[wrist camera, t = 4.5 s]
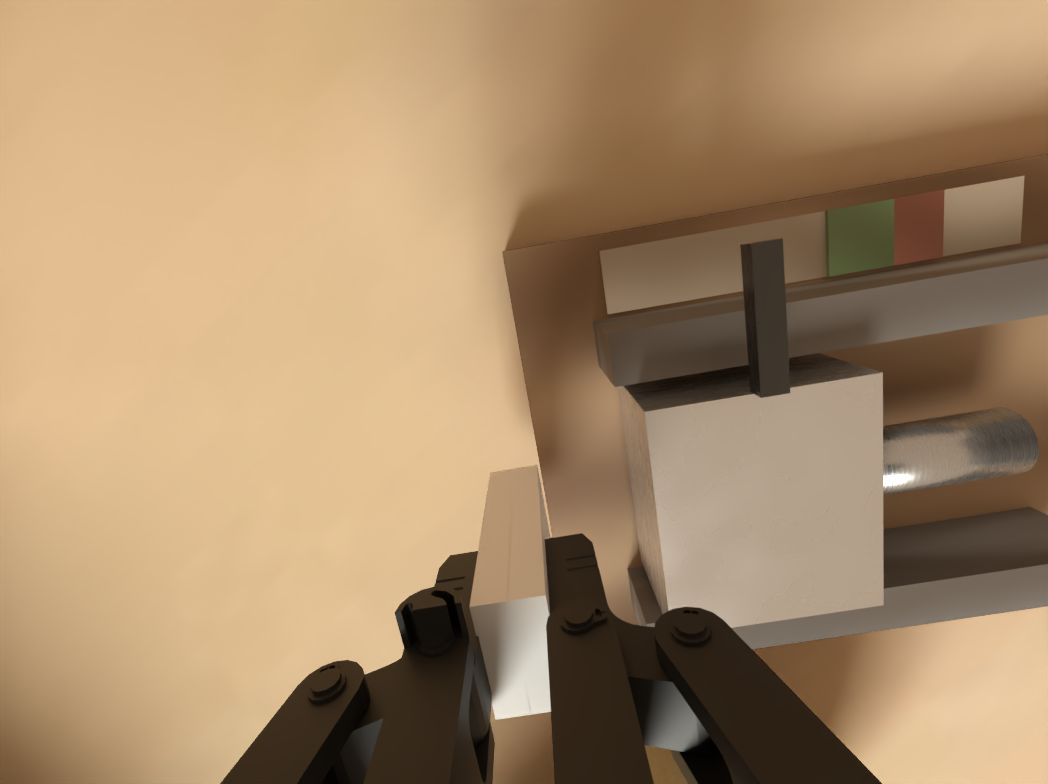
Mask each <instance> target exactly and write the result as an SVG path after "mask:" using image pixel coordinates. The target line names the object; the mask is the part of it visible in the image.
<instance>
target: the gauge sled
mask: <svg viewBox="0 0 1048 784" xmlns="http://www.w3.org/2000/svg"><path fill="white" fill-rule="evenodd" d="M740 249H741V263H742V278H743V293H744V308H745V322H746V337H747V352H748V365H744V366H738V367H732V368H726V369H721V370H715V371H709V372H703V373H697V374H691V375H685V376H679V377H673V378H667V379H661V380H655V381H649V382H643V383H637V384H631V385H625V386H619V387H618V391H619V399H620V407H621V414H622V422H623V429H624V437H625V444H626V452H627V460H628V467H629V475H630V482H631V490H632V498H633V505H634V513H635V520H636V528H637V536H638V543H639V551H640V558H641V561H642V564H643V566H644V569H645V571H646V574H647V576H648V579H649V581H650V584H651V586H652V589H653V591H654V594H655V596H656V599H657V601H658V604H659V606H660V609H661V611H662V614H664V613H666V612H668V611H670V610H672V609H675V608H681V607H696V608H702V609H705V610H708V611H711V612H713V613H714V614H716V615H717V616H719V617H720V618H721V619H723V620H724V621H725V622H726V623H727V624H728V625H729V626H730V627H731V628H733V627H740V626H747V625H753V624H760V623H767V622H774V621H780V620H787V619H794V618H801V617H807V616H814V615H821V614H828V613H834V612H841V611H848V610H855V609H861V608H868V607H875V606H882V605H884V571H883V495H885V494H892V493H898V492H904V491H911V490H917V489H924V488H930V487H937V486H943V485H949V484H956V483H962V482H969V481H975V480H981V479H988V478H994V477H1001V476H1007V475H1013V474H1020V473H1024V472H1027V471H1029V470H1030V469H1031V468H1032V467H1033V466H1034V465H1035V464H1036V462H1037V459H1038V456H1039V443H1038V439H1037V436H1036V434H1035V432H1034V430H1033V428H1032V427H1031V425H1030V424H1029V423H1028V421H1027V420H1026V419H1025V418H1024V417H1023V416H1021V415H1020V414H1018V413H1017V412H1015V411H1013V410H1011V409H1008V408H1002V407H999V408H991V409H985V410H979V411H973V412H967V413H960V414H954V415H948V416H942V417H936V418H929V419H923V420H917V421H911V422H904V423H898V424H892V425H886V426H883V372H879V371H876V370H873V369H870V368H866V367H863V366H860V365H856V364H853V363H850V362H847V361H843V360H840V359H837V358H833V357H830V356H827V355H824V354H820V353H816V354H810V355H804V356H798V357H792V358H789V355H788V334H787V313H786V293H785V272H784V251H783V238H780V239H770V240H764V241H758V242H753V243H747V244H741V245H740Z"/></svg>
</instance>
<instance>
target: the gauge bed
mask: <svg viewBox="0 0 1048 784" xmlns="http://www.w3.org/2000/svg"><path fill="white" fill-rule="evenodd" d="M780 238H783V251H784V272H785V293H786V313H787V334H788V355H789V358H792V357H798V356H804V355H810V354H816V353H820V354H824V355H827V356H830V357H833V358H837V359H840V360H843V361H847V362H850V363H853V364H856V365H860V366H863V367H866V368H870V369H873V370H876V371H879V372H883V426H886V425H892V424H898V423H904V422H911V421H917V420H923V419H929V418H936V417H942V416H948V415H954V414H960V413H967V412H973V411H979V410H985V409H991V408H999V407H1002V408H1008V409H1011V410H1013V411H1015V412H1017V413H1018V414H1020V415H1021V416H1023V417H1024V418H1025V419H1026V420H1027V421H1028V423H1029V424H1030V425H1031V427H1032V428H1033V430H1034V432H1035V434H1036V436H1037V439H1038V443H1039V456H1038V459H1037V462H1036V464H1035V465H1034V466H1033V467H1032V468H1031V469H1030V470H1029V471H1027V472H1024V473H1020V474H1013V475H1007V476H1001V477H994V478H988V479H981V480H975V481H969V482H962V483H956V484H949V485H943V486H937V487H930V488H924V489H917V490H911V491H904V492H898V493H892V494H885V495H883V571H884V605H882V606H875V607H868V608H861V609H855V610H848V611H841V612H834V613H828V614H821V615H814V616H807V617H801V618H794V619H787V620H780V621H774V622H767V623H760V624H753V625H747V626H740V627H733V628H732V629H733V630H734V631H735V632H736V633H737V635H738V636H739V637H740V638H741V639H742V640H743V641H744V642H745V643H746V644H747V645H748V646H749V647H750V648H751V649H758V648H765V647H772V646H778V645H785V644H792V643H799V642H806V641H813V640H819V639H826V638H833V637H840V636H847V635H854V634H861V633H867V632H874V631H881V630H888V629H895V628H902V627H908V626H915V625H922V624H929V623H936V622H943V621H949V620H956V619H963V618H970V617H977V616H984V615H990V614H997V613H1004V612H1011V611H1018V610H1025V609H1031V608H1038V607H1045V606H1048V154H1046V155H1040V156H1035V157H1029V158H1023V159H1018V160H1012V161H1007V162H1001V163H995V164H990V165H984V166H979V167H973V168H968V169H962V170H956V171H951V172H945V173H940V174H934V175H928V176H923V177H917V178H912V179H906V180H900V181H895V182H889V183H884V184H878V185H872V186H867V187H861V188H856V189H850V190H844V191H839V192H833V193H828V194H822V195H816V196H811V197H805V198H800V199H794V200H789V201H783V202H777V203H772V204H766V205H761V206H755V207H749V208H744V209H738V210H733V211H727V212H721V213H716V214H710V215H705V216H699V217H693V218H688V219H682V220H677V221H671V222H665V223H660V224H654V225H649V226H643V227H638V228H632V229H626V230H621V231H615V232H610V233H604V234H598V235H593V236H587V237H582V238H576V239H570V240H565V241H559V242H554V243H548V244H542V245H537V246H531V247H526V248H520V249H514V250H509V251H503V258H504V264H505V269H506V275H507V281H508V286H509V292H510V298H511V303H512V309H513V315H514V320H515V326H516V332H517V337H518V343H519V349H520V354H521V360H522V366H523V371H524V377H525V383H526V388H527V394H528V400H529V405H530V411H531V417H532V422H533V428H534V434H535V440H536V445H537V451H538V457H539V462H540V468H541V474H542V479H543V485H544V491H545V496H546V502H547V508H548V513H549V519H550V525H551V530H552V536H553V538H555V537H561V536H568V535H574V534H580V533H582V534H584V535H585V536H586V537H587V538H588V539H589V540H590V541H591V542H593V546H594V550H595V554H596V559H597V563H598V567H599V571H600V575H601V579H602V583H603V587H604V591H605V595H606V599H607V603H608V606H609V608H610V610H611V611H612V613H613V614H614V615H615V616H616V617H618V618H620V619H621V620H623V621H625V622H628V623H630V624H634V625H640V626H648V627H655V622H656V621H657V620H658V619H659V617H660V616H661V615H662V611H661V609H660V606H659V604H658V601H657V599H656V596H655V594H654V591H653V589H652V586H651V584H650V581H649V579H648V576H647V574H646V571H645V569H644V566H643V564H642V561H641V558H640V551H639V543H638V536H637V528H636V520H635V513H634V505H633V498H632V490H631V482H630V475H629V467H628V460H627V452H626V444H625V437H624V429H623V422H622V414H621V407H620V399H619V391H618V387H619V386H625V385H631V384H637V383H643V382H649V381H655V380H661V379H667V378H673V377H679V376H685V375H691V374H697V373H703V372H709V371H715V370H721V369H726V368H732V367H738V366H744V365H748V352H747V337H746V322H745V308H744V293H743V278H742V263H741V249H740V245H741V244H747V243H753V242H758V241H764V240H770V239H780Z"/></svg>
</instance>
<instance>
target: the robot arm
mask: <svg viewBox="0 0 1048 784" xmlns="http://www.w3.org/2000/svg"><path fill="white" fill-rule="evenodd" d="M395 615H396V619H397V622H398V626H399V630H400V633H401V637H402V641H403V644H404V652H403V655H402V658H401V659H399V660H398V661H396V662H394V663H392V664H390V665H388V666H386V667H383V668H381V669H378V670H376V671H373V672H371V673H368V674H366V675H364V671H363V668H362V667H361V666H360V665H359V664H358V663H357V662H353V661H349V660H344V661H336V662H333V663H330V664H327V665H325V666H322V667H320V668H319V669H317V670H316V671H314V672H313V673H311V674H309V675H308V676H307V677H306V678H305V679H304V680H303V681H302V682H301V683H300V684H299V685H298V686H297V687H296V689H295V690H294V691H293V692H292V694H291V695H290V696H289V698H288V699H287V700H286V701H285V703H284V704H283V705H282V706H281V708H280V709H279V710H278V711H277V713H276V714H275V715H274V717H273V718H272V719H271V720H270V722H269V723H268V724H267V725H266V727H265V728H264V729H263V730H262V732H261V733H260V734H259V735H258V737H257V738H256V739H255V741H254V742H253V743H252V744H251V746H250V747H249V748H248V749H247V751H246V752H245V753H244V754H243V756H242V757H241V758H240V759H239V761H238V762H237V763H236V765H235V766H234V767H233V768H232V770H231V771H230V772H229V773H228V775H227V776H226V777H225V778H224V780H223V781H222V782H221V784H492V780H493V762H494V745H495V743H494V737H493V732H492V727H491V723H490V713H491V702H492V706H493V711H494V715H495V719H496V720H498V719H505V718H512V717H519V716H525V715H532V714H539V713H546V712H551V721H552V738H553V755H554V773H555V784H654V782H653V778H652V773H651V769H650V765H649V761H648V757H647V753H646V749H645V745H647V746H652V747H658V748H664V749H669V750H670V751H671V753H672V756H673V759H674V760H675V762H676V764H677V766H678V767H679V769H680V771H681V773H682V774H683V776H684V778H685V779H686V781H687V783H688V784H882V783H881V782H880V781H879V780H878V779H877V778H876V777H875V776H874V775H873V774H872V773H871V772H870V771H869V770H868V769H867V768H866V767H865V766H864V765H863V764H862V762H861V761H860V760H859V759H858V758H857V757H856V756H855V755H854V754H853V753H852V752H851V751H850V750H849V749H848V748H847V747H846V746H845V745H844V744H843V743H842V742H841V741H840V740H839V739H838V738H837V737H836V736H835V735H834V734H833V733H832V732H831V730H830V729H829V728H828V727H827V726H826V725H825V724H824V723H823V722H822V721H821V720H820V719H819V718H818V717H817V716H816V715H815V714H814V713H813V712H812V711H811V710H810V709H809V708H808V707H807V706H806V705H805V704H804V703H803V702H802V701H801V700H800V699H799V697H798V696H797V695H796V694H795V693H794V692H793V691H792V690H791V689H790V688H789V687H788V686H787V685H786V684H785V683H784V682H783V681H782V680H781V679H780V678H779V677H778V676H777V675H776V674H775V673H774V672H773V671H772V670H771V669H770V668H769V667H768V665H767V664H766V663H765V662H764V661H763V660H762V659H761V658H760V657H759V656H758V655H757V654H756V653H755V652H754V651H753V650H752V649H751V648H750V647H749V646H748V645H747V644H746V643H745V642H744V641H743V640H742V639H741V638H740V637H739V636H738V635H737V633H736V632H735V631H734V630H733V629H732V628H731V627H730V626H729V625H728V624H727V623H726V622H725V621H724V620H723V619H721V618H720V617H719V616H717V615H716V614H714V613H713V612H711V611H708V610H705V609H702V608H696V607H681V608H675V609H672V610H670V611H668V612H666V613H664V614H662V615H661V616H660V617H659V619H658V620H657V621H656V622H655V627H648V626H640V625H634V624H630V623H628V622H625V621H623V620H621V619H620V618H618V617H616V616H615V615H614V614H613V613H612V611H611V610H610V608H609V606H608V603H607V599H606V595H605V591H604V587H603V583H602V579H601V575H600V571H599V567H598V563H597V559H596V554H595V550H594V546H593V542H591V541H590V540H589V539H588V538H587V537H586V536H585V535H584V534H582V533H580V534H574V535H568V536H561V537H555V538H550V534H549V528H548V523H547V517H546V512H545V506H544V501H543V495H542V490H541V484H540V479H539V473H538V468H537V465H534V466H528V467H522V468H516V469H510V470H504V471H498V472H492V473H490V479H489V485H488V492H487V498H486V504H485V511H484V517H483V523H482V530H481V536H480V542H479V549H478V551H476V552H469V553H463V554H457V555H450V556H449V558H448V559H447V560H446V561H445V562H444V563H443V564H442V566H441V567H440V568H439V571H438V575H437V579H436V584H435V586H434V587H432V588H428V589H424V590H421V591H419V592H417V593H415V594H413V595H411V596H409V597H408V598H407V599H406V600H405V601H403V602H402V603H401V604H400V605H399V607H398V609H397V610H396V612H395Z"/></svg>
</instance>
